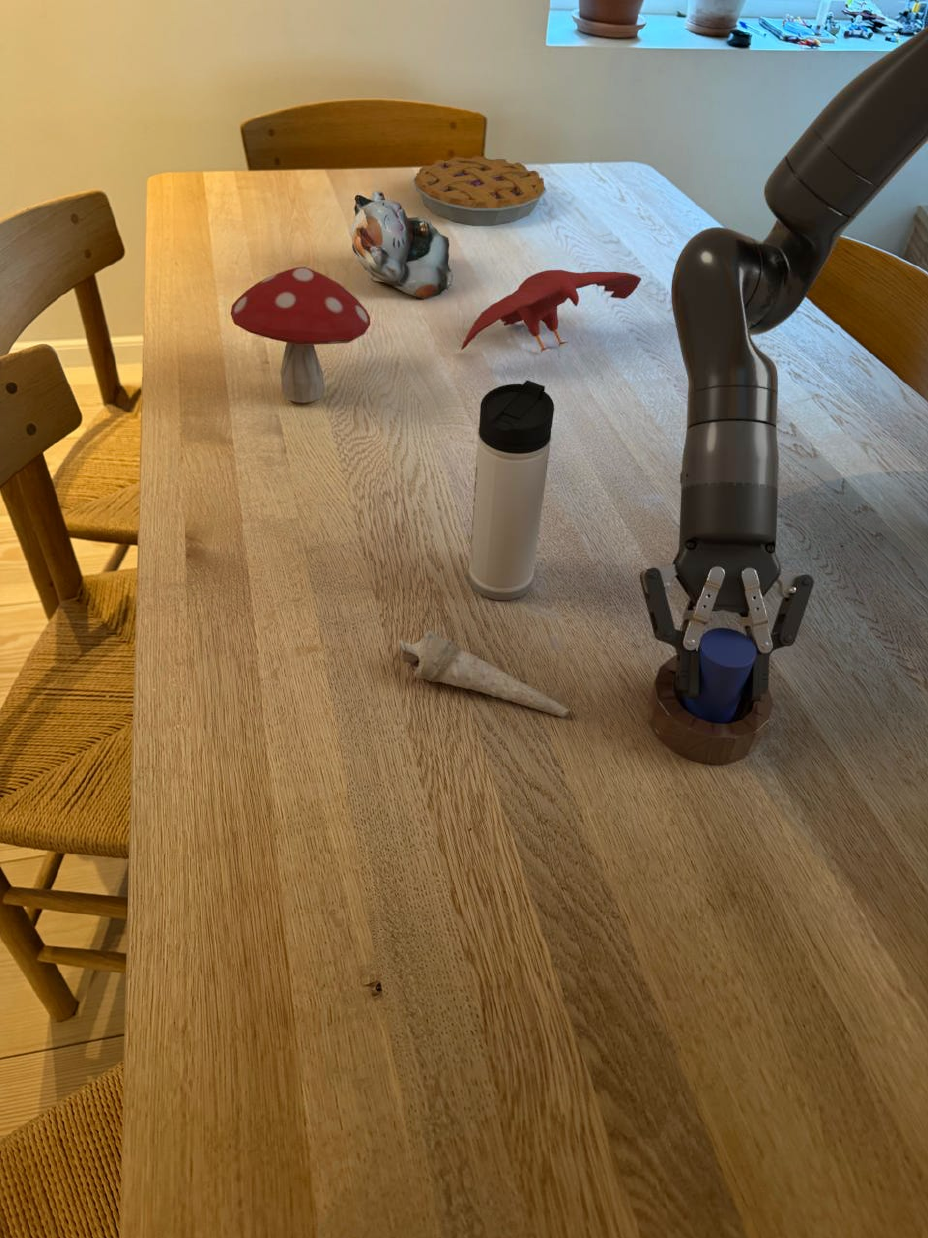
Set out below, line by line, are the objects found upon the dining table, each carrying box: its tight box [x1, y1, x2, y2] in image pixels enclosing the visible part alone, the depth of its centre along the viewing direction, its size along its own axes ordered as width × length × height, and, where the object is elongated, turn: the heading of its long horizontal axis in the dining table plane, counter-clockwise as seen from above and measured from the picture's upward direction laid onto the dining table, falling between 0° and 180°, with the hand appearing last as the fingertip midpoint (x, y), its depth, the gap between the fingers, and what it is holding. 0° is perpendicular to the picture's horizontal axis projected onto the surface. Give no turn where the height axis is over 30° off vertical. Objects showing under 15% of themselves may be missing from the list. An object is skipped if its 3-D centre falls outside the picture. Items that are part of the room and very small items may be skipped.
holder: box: [647, 650, 774, 766], centre depth 80 cm, size 10×10×4 cm
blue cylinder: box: [680, 627, 756, 724], centre depth 78 cm, size 4×4×8 cm
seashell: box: [398, 629, 570, 718], centre depth 81 cm, size 4×16×4 cm, turn 71°
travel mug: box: [467, 380, 555, 601], centre depth 86 cm, size 6×7×20 cm
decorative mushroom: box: [230, 266, 371, 404], centre depth 111 cm, size 16×16×15 cm
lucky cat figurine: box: [349, 190, 454, 300], centre depth 135 cm, size 15×12×14 cm
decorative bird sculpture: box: [460, 269, 642, 353], centre depth 125 cm, size 28×9×15 cm
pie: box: [412, 155, 547, 226], centre depth 160 cm, size 22×22×5 cm
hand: (721, 698), depth 76 cm, fingers closed on blue cylinder, 4 cm apart
